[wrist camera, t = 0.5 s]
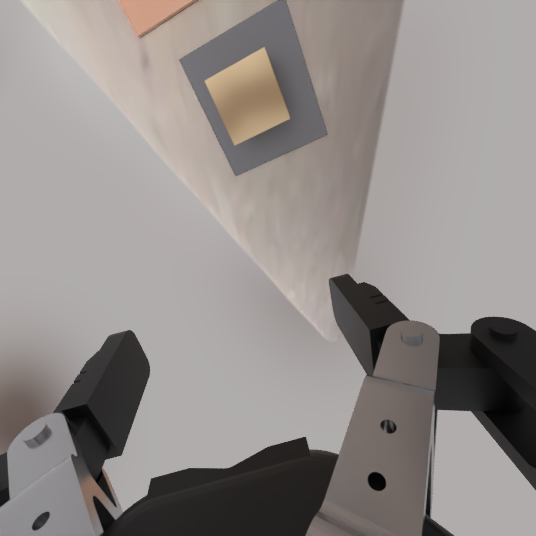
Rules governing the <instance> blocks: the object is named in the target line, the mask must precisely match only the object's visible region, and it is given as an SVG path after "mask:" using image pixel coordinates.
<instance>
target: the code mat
mask: <svg viewBox="0 0 536 536" xmlns="http://www.w3.org/2000/svg"><path fill="white" fill-rule="evenodd" d="M263 47H265V50H266V52H267V54H268V57H269V59H270V62H271V65H272V67H273V70H274V73H275V76H276V79H277V81H278V84H279V87H280V90H281V92H282V95H283V98H284V101H285V104H286V106H287V109H288V112H289V116H290V119H289V120H286V121H284V122H282V123H280V124H278V125H276V126H274V127H272V128H270V129H268V130H266V131H264V132H262V133H260V134H258V135H256V136H253V137H251V138H249V139H247V140H245V141H243V142H241V143H239V144H237V145H235V146H234V143H233V141H232V139H231V137H230V135H229V133H228V131H227V128H226V126H225V124H224V122H223V120H222V118H221V115H220V113H219V111H218V109H217V107H216V105H215V103H214V100H213V98H212V96H211V94H210V92H209V90H208V87H207V85H206V83H205V80H207V79H208V78H210V77H212V76H214V75H215V74H217V73H219V72H221V71H223V70H224V69H226V68H228V67H230V66H231V65H233V64H235V63H237V62H239V61H240V60H242V59H244V58H246V57H247V56H249V55H251V54H253V53H254V52H256V51H258V50H260V49H262V48H263ZM179 61H180V63H181V65H182V67H183V69H184V71H185V73H186V75H187V77H188V79H189V81H190V83H191V85H192V87H193V89H194V91H195V94H196V96H197V98H198V100H199V102H200V104H201V106H202V108H203V110H204V112H205V114H206V116H207V118H208V120H209V122H210V124H211V126H212V129H213V131H214V133H215V135H216V137H217V139H218V141H219V143H220V145H221V147H222V149H223V151H224V153H225V155H226V157H227V159H228V161H229V163H230V166H231V168H232V170H233V172H234V174H235V176H237V175H239V174H242V173H244V172H246V171H248V170H250V169H252V168H255V167H257V166H259V165H261V164H263V163H266V162H268V161H270V160H272V159H274V158H277V157H279V156H281V155H283V154H285V153H288V152H290V151H292V150H294V149H296V148H299V147H301V146H303V145H305V144H307V143H310V142H312V141H314V140H316V139H318V138H321V137H323V136H325V135H327V131H326V128H325V125H324V121H323V118H322V115H321V112H320V109H319V105H318V102H317V99H316V96H315V92H314V89H313V86H312V83H311V80H310V76H309V73H308V70H307V67H306V64H305V60H304V57H303V54H302V51H301V48H300V44H299V41H298V38H297V35H296V31H295V28H294V25H293V22H292V19H291V15H290V12H289V9H288V6H287V3H286V0H278V1H276V2H274V3H273V4H271V5H269V6H268V7H266V8H264V9H263V10H261V11H259V12H258V13H256V14H254V15H253V16H251V17H249V18H248V19H246V20H244V21H243V22H241V23H239V24H238V25H236V26H234V27H233V28H231V29H229V30H228V31H226V32H224V33H223V34H221V35H219V36H218V37H216V38H214V39H213V40H211V41H209V42H208V43H206V44H204V45H203V46H201V47H199V48H198V49H196V50H194V51H193V52H191V53H189V54H188V55H186V56H184V57H183V58H181V59H179Z"/></svg>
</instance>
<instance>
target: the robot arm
mask: <svg viewBox="0 0 536 536" xmlns="http://www.w3.org/2000/svg"><path fill="white" fill-rule="evenodd" d="M329 286H330V293H331V299H332V306H333V312H334V316H335V319H336V322H337V324H338V326H339V328H340V330H341V332H342V333H343V335H344V336H345V338H346V340H347V342H348V343H349V345H350V347H351V348H352V350H353V352H354V353H355V355H356V357H357V358H358V360H359V362H360V364H361V365H362V367H363V369H364V370H365V372H366V373H367V375H366V377H365V378H364V381H363V384H362V387H361V390H360V393H359V396H358V399H357V402H356V405H355V408H354V411H353V414H352V417H351V420H350V423H349V426H348V429H347V432H346V435H345V438H344V441H343V444H342V447H341V450H340V453H339V455H338V454H335V453H331V452H328V451H322V450H309V448H308V444H307V440H306V437H303V438H299V439H296V440H292V441H288V442H284V443H281V444H277V445H273V446H270V447H267V448H265V449H263V450H262V451H260V452H258V453H256V454H255V455H253V456H251V457H249V458H247V459H245V460H244V461H242V462H240V463H238V464H236V465H235V466H233V467H230V468H227V469H226V468H225V469H217V468H216V469H215V468H212V469H211V468H188V469H185V470H181V471H177V472H174V473H170V474H167V475H163V476H159V477H155V478H152V479H151V482H150V486H149V490H148V494H147V496H145V497H143V498H142V499H140V500H139V501H137V502H136V503H135V504H133V505H132V506H131V507H130V508H128V509H127V510H126V511H125V512H124V513H123V511H122V508H121V506H120V504H119V501H118V499H117V497H116V494H115V492H114V489H113V487H112V485H111V482H110V480H109V478H108V475H107V473H106V472H105V470H104V469H103V467H102V466H103V464H104V461H105V460H106V459H110V458H113V457H117V456H121V455H122V453H123V450H124V447H125V444H126V441H127V438H128V435H129V432H130V430H131V427H132V424H133V421H134V418H135V415H136V412H137V410H138V407H139V404H140V401H141V398H142V395H143V392H144V390H145V387H146V384H147V381H148V378H149V375H150V366H149V362H148V359H147V357H146V355H145V353H144V351H143V349H142V347H141V345H140V343H139V341H138V340H137V338H136V336H135V334H134V333H133V332H132V331H131V330H128V331H124V332H120V333H116V334H113V335H110V336H109V337H108V338H107V339H106V341H105V343H104V344H103V346H102V347H101V349H100V350H99V351H98V352H97V353H96V354H95V355H94V356H93V357H91V358H90V359H89V360H88V361H87V362H86V364H85V365H84V367H83V368H82V370H81V372H80V374H79V375H78V376H77V377H76V379H75V381H74V384H72V385H71V387H70V388H69V390H68V391H67V393H66V394H65V396H64V397H63V399H62V400H61V402H60V403H59V405H58V406H57V408H56V409H55V411H54V413H52V414H49V415H46V416H44V417H42V418H40V419H38V420H36V421H35V422H33V423H32V424H30V425H29V426H28V427H26V428H25V429H24V430H23V431H22V432H21V433H20V434H19V435H18V436H17V437H16V438H15V439H14V440H13V442H12V443H11V445H10V447H9V449H8V451H7V452H6V453H4V454H2V455H0V536H454V535H453V534H451V533H450V532H449V531H447V530H446V529H445V528H443V527H442V526H440V525H439V524H438V523H437V522H435V521H434V520H432V519H431V509H432V494H433V473H434V458H435V444H436V429H437V414H438V410H459V411H471V412H472V413H473V414H474V415H475V416H476V418H477V419H478V420H479V421H480V423H481V424H482V425H483V426H484V428H485V429H486V430H487V431H488V432H489V434H490V435H491V436H492V437H493V439H494V440H495V441H496V442H497V443H498V445H499V446H500V447H501V448H502V449H503V451H504V452H505V453H506V454H507V455H508V457H509V458H510V459H511V460H512V462H513V463H514V464H515V465H516V467H517V468H518V469H519V470H520V471H521V473H522V474H523V475H524V476H525V478H526V479H527V480H528V481H529V482H530V484H531V485H532V486H533V487H534V489H535V490H536V331H535V330H533V329H532V328H530V327H529V326H527V325H525V324H523V323H521V322H519V321H516V320H513V319H509V318H504V317H485V318H481V319H479V320H476V321H475V322H474V323H473V324H472V326H471V333H470V334H438V332H437V331H436V330H435V329H434V328H433V327H431V326H429V325H427V324H425V323H422V322H418V321H410V320H409V319H408V318H407V317H406V316H405V315H404V314H403V313H402V312H401V311H400V310H399V309H398V308H397V307H396V306H394V305H393V304H392V303H391V302H390V301H389V300H388V299H387V298H386V297H385V296H384V295H383V294H382V293H381V292H380V291H379V290H378V289H377V288H376V287H375V286H372V285H370V284H367V283H365V282H363V283H359V284H357V283H356V282H355V281H354V280H353V279H352V278H351V276H350V275H349V274H345V275H341V276H337V277H333V278H330V279H329Z"/></svg>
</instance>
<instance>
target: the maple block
mask: <svg viewBox="0 0 536 536" xmlns="http://www.w3.org/2000/svg"><path fill="white" fill-rule="evenodd" d="M205 83H206V85H207V87H208V90H209V92H210V94H211V96H212V98H213V100H214V103H215V105H216V107H217V109H218V111H219V113H220V115H221V118H222V120H223V122H224V124H225V126H226V128H227V131H228V133H229V135H230V137H231V139H232V141H233V143H234V146H235V145H237V144H239V143H241V142H243V141H245V140H247V139H249V138H251V137H253V136H256V135H258V134H260V133H262V132H264V131H266V130H268V129H270V128H272V127H274V126H276V125H278V124H280V123H282V122H284V121H286V120H289V119H290V116H289V112H288V109H287V106H286V104H285V101H284V98H283V95H282V92H281V90H280V87H279V84H278V81H277V79H276V76H275V73H274V70H273V67H272V65H271V62H270V59H269V57H268V54H267V52H266V50H265V47H263V48H262V49H260V50H258V51H256V52H254V53H253V54H251V55H249V56H247V57H246V58H244V59H242V60H240V61H239V62H237V63H235V64H233V65H231V66H230V67H228V68H226V69H224V70H223V71H221V72H219V73H217V74H215V75H214V76H212V77H210V78H208V79H207V80H205Z"/></svg>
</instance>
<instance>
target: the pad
mask: <svg viewBox="0 0 536 536" xmlns="http://www.w3.org/2000/svg"><path fill="white" fill-rule="evenodd" d="M118 1H119V3H120V5H121V7H122V9H123V11H124V12H125V14H126V16H127V18H128V20H129V22H130V24H131V26H132V28H133V30H134V31H135V33H136V35H137V37H142V36H143V35H145V34H146V33H148V32H149V31H151V30H152V29H154V28H155V27H157V26H159V25H160V24H162V23H163V22H165V21H166V20H168V19H169V18H171V17H172V16H174V15H176V14H177V13H179V12H180V11H182V10H183V9H185V8H186V7H188V6H189V5H191V4H192V3H194V2H196V1H197V0H118Z"/></svg>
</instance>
